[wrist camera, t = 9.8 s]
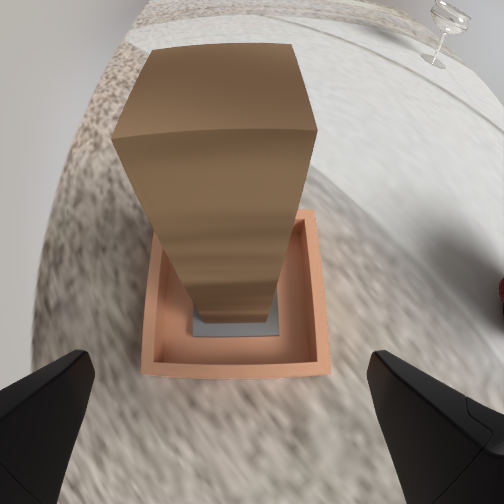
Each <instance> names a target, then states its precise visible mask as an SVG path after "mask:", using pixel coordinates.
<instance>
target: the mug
mask: <svg viewBox="0 0 504 504" xmlns="http://www.w3.org/2000/svg"><path fill="white" fill-rule="evenodd" d="M499 295H500V298H501V301H502V302H503V313H504V278H503V279H502V280H501V282H500V285H499Z"/></svg>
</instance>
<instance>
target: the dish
mask: <svg viewBox="0 0 504 504" xmlns="http://www.w3.org/2000/svg"><path fill="white" fill-rule="evenodd" d="M277 296H278V314H279V332H280V335H279V336H272V337H230V338H200V337H193V301H192V300H191V298H190V296H189V294H188V293H187V291H186V289H185V287H184V285H183V284H182V282H181V280H180V278H179V276H178V275H177V273H176V271H175V269H174V267H173V265H172V264H171V262H170V260H169V258H168V256H167V254H166V252H165V251H164V249H163V247H162V245H161V243H160V241H159V239H158V237H157V235H156V233H155V231H154V233H153V240H152V247H151V255H150V262H149V271H148V279H147V289H146V299H145V310H144V322H143V337H142V354H141V374H144V375H150V376H156V377H170V378H189V379H226V380H242V379H280V378H298V377H312V376H322V375H326V374H331V364H330V349H329V336H328V323H327V312H326V302H325V292H324V282H323V273H322V265H321V256H320V248H319V241H318V233H317V226H316V219H315V212H314V210H297V214H296V218H295V222H294V225H293V229H292V233H291V237H290V240H289V244H288V248H287V251H286V255H285V258H284V262H283V266H282V269H281V273H280V276H279V280H278V283H277Z"/></svg>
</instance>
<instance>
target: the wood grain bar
mask: <svg viewBox="0 0 504 504" xmlns="http://www.w3.org/2000/svg"><path fill="white" fill-rule="evenodd" d="M317 131H318V130H317V126H316V123H315V119H314V115H313V112H312V108H311V105H310V101H309V98H308V94H307V91H306V88H305V84H304V81H303V78H302V75H301V72H300V69H299V65H298V62H297V59H296V56H295V53H294V50H293V48H292V45H291V44H275V43H222V44H204V45H192V46H181V47H172V48H165V49H157V50H152V52H151V53H150V55H149V57H148V59H147V61H146V63H145V65H144V67H143V69H142V70H141V72H140V74H139V76H138V78H137V81H136V83H135V85H134V87H133V89H132V91H131V93H130V95H129V97H128V100H127V102H126V104H125V106H124V109H123V111H122V113H121V116H120V118H119V120H118V123H117V125H116V128H115V130H114V133H113V135H112V138H111V140H112V142H113V145H114V147H115V149H116V151H117V154H118V156H119V158H120V160H121V163H122V165H123V167H124V169H125V172H126V174H127V176H128V178H129V180H130V182H131V184H132V187H133V189H134V191H135V193H136V195H137V197H138V199H139V201H140V203H141V205H142V207H143V209H144V211H145V213H146V215H147V217H148V219H149V221H150V223H151V225H152V227H153V229H154V231H155V233H156V235H157V237H158V239H159V241H160V243H161V245H162V247H163V249H164V251H165V252H166V254H167V256H168V258H169V260H170V262H171V264H172V265H173V267H174V269H175V271H176V273H177V275H178V276H179V278H180V280H181V282H182V284H183V285H184V287H185V289H186V291H187V293H188V294H189V296H190V298H191V300H192V301H193V337H200V338H230V337H272V336H279V335H280V332H279V314H278V296H277V283H278V280H279V276H280V273H281V269H282V266H283V262H284V258H285V255H286V251H287V248H288V244H289V240H290V237H291V233H292V229H293V225H294V222H295V218H296V214H297V210H298V207H299V203H300V199H301V195H302V191H303V187H304V183H305V180H306V176H307V172H308V168H309V164H310V160H311V156H312V152H313V147H314V143H315V139H316V135H317Z"/></svg>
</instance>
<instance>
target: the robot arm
mask: <svg viewBox="0 0 504 504" xmlns="http://www.w3.org/2000/svg"><path fill="white" fill-rule="evenodd" d="M94 378H95V371H94V367H93V365H92V362H91V359H90V356H89V353H88V352H87V351H85V350H74V351H72V352H70V353H68V354H67V355H65V356H63V357H61V358H59V359H57V360H56V361H54V362H52V363H50V364H48V365H46V366H44V367H43V368H41V369H39V370H37V371H35V372H33V373H32V374H30V375H28V376H26V377H24V378H22V379H20V380H19V381H17V382H15V383H13V384H11V385H9V386H8V387H6V388H4V389H2V390H0V504H57V501H58V497H59V493H60V490H61V486H62V483H63V479H64V476H65V472H66V469H67V466H68V463H69V459H70V456H71V453H72V450H73V447H74V444H75V441H76V438H77V435H78V432H79V430H80V427H81V424H82V421H83V418H84V415H85V412H86V408H87V404H88V400H89V396H90V393H91V389H92V385H93V381H94ZM367 380H368V384H369V387H370V391H371V395H372V399H373V404H374V408H375V412H376V415H377V418H378V421H379V424H380V427H381V430H382V432H383V435H384V438H385V441H386V443H387V446H388V449H389V452H390V455H391V458H392V460H393V463H394V466H395V469H396V472H397V475H398V478H399V481H400V484H401V487H402V490H403V493H404V497H405V500H406V503H407V504H504V415H503V414H501V413H499V412H496V411H494V410H492V409H490V408H488V407H486V406H484V405H482V404H480V403H478V402H476V401H474V400H473V399H471V398H469V397H465V395H463V394H462V393H460V392H458V391H456V390H455V389H453V388H451V387H449V386H447V385H446V384H444V383H442V382H440V381H439V380H437V379H435V378H433V377H431V376H430V375H428V374H426V373H424V372H423V371H421V370H419V369H417V368H416V367H414V366H412V365H410V364H409V363H407V362H405V361H403V360H402V359H400V358H398V357H396V356H395V355H393V354H391V353H390V352H388V351H386V350H380V351H374V352H373V353H372V355H371V358H370V362H369V366H368V369H367Z"/></svg>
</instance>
